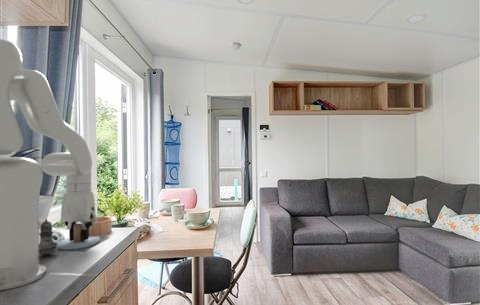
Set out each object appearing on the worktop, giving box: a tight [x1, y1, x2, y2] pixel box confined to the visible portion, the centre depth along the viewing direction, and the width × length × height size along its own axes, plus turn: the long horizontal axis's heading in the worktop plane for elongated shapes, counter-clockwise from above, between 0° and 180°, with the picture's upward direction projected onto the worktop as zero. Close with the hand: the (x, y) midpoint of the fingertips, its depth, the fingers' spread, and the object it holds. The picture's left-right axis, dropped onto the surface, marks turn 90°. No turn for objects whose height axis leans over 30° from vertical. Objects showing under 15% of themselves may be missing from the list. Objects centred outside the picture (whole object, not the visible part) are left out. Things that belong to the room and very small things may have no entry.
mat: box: [54, 236, 111, 253], centre depth 94 cm, size 14×14×1 cm
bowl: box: [89, 216, 112, 237], centre depth 107 cm, size 10×10×6 cm
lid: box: [57, 222, 101, 250], centre depth 94 cm, size 13×13×7 cm
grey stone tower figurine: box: [39, 218, 59, 259], centre depth 83 cm, size 6×6×12 cm
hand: (79, 239), depth 94 cm, fingers closed on lid, 3 cm apart
